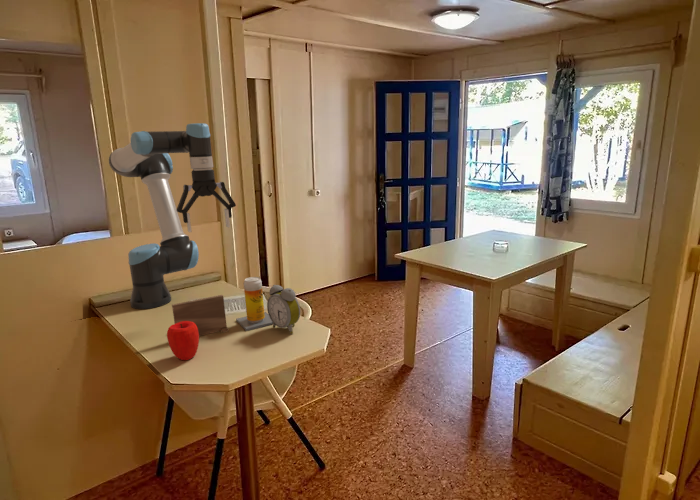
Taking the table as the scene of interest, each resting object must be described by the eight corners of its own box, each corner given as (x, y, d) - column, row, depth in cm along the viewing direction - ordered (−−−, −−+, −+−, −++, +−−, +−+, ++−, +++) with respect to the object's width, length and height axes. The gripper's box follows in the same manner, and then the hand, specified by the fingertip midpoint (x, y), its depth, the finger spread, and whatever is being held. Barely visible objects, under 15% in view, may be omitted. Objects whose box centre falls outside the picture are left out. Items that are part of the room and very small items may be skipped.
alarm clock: (268, 328, 154) (264, 285, 150) (283, 321, 158) (280, 280, 155) (290, 336, 146) (286, 292, 142) (306, 329, 151) (303, 286, 147)
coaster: (236, 320, 161) (236, 318, 161) (265, 314, 166) (265, 311, 166) (246, 331, 152) (245, 328, 152) (277, 323, 157) (276, 321, 157)
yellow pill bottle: (260, 323, 155) (257, 281, 152) (244, 323, 157) (240, 281, 153) (267, 317, 161) (264, 276, 158) (251, 316, 162) (247, 276, 159)
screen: (175, 337, 149) (171, 303, 146) (224, 326, 157) (220, 293, 154) (178, 343, 145) (173, 307, 142) (228, 331, 152) (224, 297, 150)
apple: (177, 350, 139) (173, 317, 137) (205, 350, 139) (201, 317, 136) (165, 364, 130) (160, 329, 128) (195, 364, 130) (190, 328, 128)
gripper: (166, 172, 149) (174, 235, 154) (240, 167, 161) (246, 226, 166) (162, 171, 155) (170, 232, 160) (234, 166, 167) (240, 223, 172)
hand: (209, 229), depth 163 cm, fingers open, 13 cm apart
